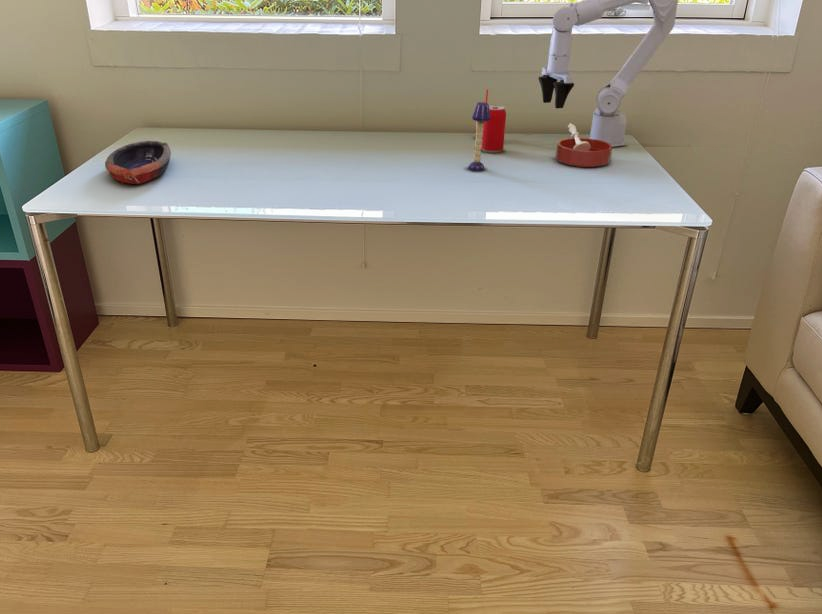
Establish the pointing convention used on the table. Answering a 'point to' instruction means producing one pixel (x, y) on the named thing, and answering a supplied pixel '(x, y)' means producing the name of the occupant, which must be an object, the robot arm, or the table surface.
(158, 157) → the dish
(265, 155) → the table surface
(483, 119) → the toy lamp
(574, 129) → the chess piece
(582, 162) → the bowl
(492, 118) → the beverage can
